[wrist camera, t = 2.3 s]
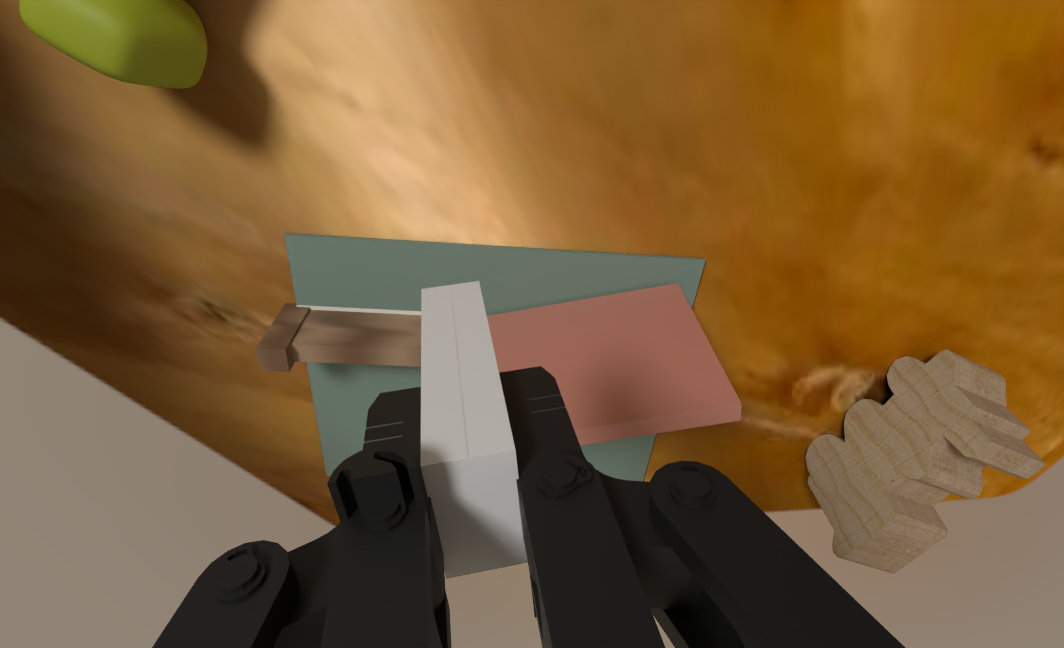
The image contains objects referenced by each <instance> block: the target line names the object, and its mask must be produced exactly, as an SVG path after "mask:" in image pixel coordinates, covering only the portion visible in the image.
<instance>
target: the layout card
mask: <svg viewBox="0 0 1064 648" xmlns="http://www.w3.org/2000/svg"><path fill="white" fill-rule="evenodd" d="M285 241H286V247H287V253H288V258H289V264H290V270H291V275H292V281H293V287H294V293H295V298H296V304H297V307H310V310H328V311H348V312H368V313H388V314H408V315H421V289H424V288H432V287H439V286H446V285H453V284H461V283H468V282H475V281H479V283H480V288H481V292H482V297H483V302H484V306H485V311H486V315H487V316H490V315H495V314H501V313H507V312H513V311H519V310H524V309H530V308H536V307H542V306H547V305H553V304H559V303H565V302H571V301H576V300H582V299H588V298H594V297H600V296H605V295H611V294H617V293H623V292H628V291H634V290H640V289H646V288H652V287H657V286H663V285H669V284H675V283H678V284H679V286H680V288H681V290H682V292H683V294H684V296H685V298H686V300H687V301H688V303H689V305H690V307H691V309H692V307H693V303H694V300H695V296H696V293H697V289H698V286H699V282H700V279H701V275H702V272H703V268H704V265H705V261H706V260H705V258H690V257H673V256H657V255H640V254H623V253H607V252H590V251H574V250H557V249H541V248H524V247H507V246H491V245H474V244H458V243H441V242H425V241H408V240H391V239H375V238H358V237H342V236H325V235H309V234H292V233H286V234H285ZM307 367H308V373H309V379H310V384H311V390H312V396H313V402H314V407H315V413H316V419H317V425H318V430H319V436H320V442H321V448H322V453H323V459H324V465H325V470H326V476H331V474H332V472H333V471H334V470H335V469H336V468H337V467H338V466H339V465H340V464H341V463H342V462H343V461H344V460H345V459H347V458H348V457H350V456H352V455H353V454H355V453H357V452H359V451H362V450H363V444H364V436H365V430H366V422H367V415H368V409H369V408H370V406H371V405H372V404H373V402H374V401H375V399H376V398H377V397H378V395H379V394H380V393H383V392H390V391H396V390H402V389H409V388H415V387H421V367H415V366H392V365H369V364H345V363H322V362H307ZM655 437H656V434H651V435H645V436H638V437H632V438H625V439H619V440H612V441H606V442H600V443H593V444H587V445H580V447H581V449H582V452H583V454H584V456H585V458H586V460H587V461H588V462H590V463H591V464H592V465H593V466H594V468H595V469H596V470H598V471H600V472H601V473H603V474H605V475H608V476H610V477H613V478H617V479H623V480H631V481H643V479H644V476H645V472H646V469H647V465H648V462H649V458H650V455H651V451H652V448H653V444H654V441H655Z"/></svg>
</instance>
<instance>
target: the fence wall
mask: <svg viewBox="0 0 1064 648" xmlns="http://www.w3.org/2000/svg"><path fill="white" fill-rule="evenodd" d="M256 350H257V354H258V358H259V363H260V367H261V371H280V372H290V370H291V368H292V366H293V364H294V362H295V361H299V362H322V363H345V364H369V365H392V366H415V367H421V315H408V314H388V313H368V312H348V311H328V310H310V307H297V304H285V305H284V307H283V308H282V310H281V311H280V313H279V314H278V316H277V317H276V319H275V320H274V322H273V324H272V325H271V327H270V328H269V330H268V331H267V333H266V334H265V336H264V337H263V339H262V340H261V342H260V344H259V345H258V347H257V348H256Z"/></svg>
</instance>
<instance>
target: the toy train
mask: <svg viewBox="0 0 1064 648" xmlns="http://www.w3.org/2000/svg"><path fill="white" fill-rule="evenodd" d="M887 380H888V385H889V387H890V389H891V390H892V392H893V394H894V395H893V396H892V397H891V398H890V399H889V400H888V401H887V402H886V403H885V404H881V403H879V402H876V401H874V400H871V399H861V400H859V401H858V402H856V403H855V404H854V405H853V406H851V407H850V408H849V409H848V411H847V413H846V415H845V420H844V433H845V439H843V438H840V437H837V436H835V435H829V434H824V435H821V436H818V437H817V438H816V439H815V440H814V441H813V442H812V443H811V444H810V446H809V448H808V450H807V454H806V464H807V469H808V471H809V473H810V476H809V477H808V485H809V487H810V488H811V490H812V492H813V494H814V495H815V497H816V499H817V501H818V502H819V504H820V506H821V508H822V509H823V511H824V513H825V515H826V516H827V518H828V520H829V522H830V523H831V525H832V527H833V529H834V537H833V544H832V546H833V553H834V554H835V555H836V556H837V557H839V558H843V559H846V560H849V561H853V562H856V563H860V564H863V565H866V566H870V567H873V568H876V569H880V570H883V571H886V572H890V573H895V572H897V571H898V570H899V569H901V568H903V567H904V566H905V565H907V564H908V563H910V562H911V561H912V560H914V559H915V558H917V557H918V556H920V555H921V554H922V553H924V552H925V551H927V550H928V549H929V548H931V547H932V546H934V545H935V544H936V543H938V542H939V541H941V540H942V539H943V538H945V537H946V536H947V532H948V529H947V528H946V527H945V525H944V524H943V522H942V520H941V519H940V517H939V515H938V514H937V512H936V511H935V509H934V506H935V505H936V504H938V503H939V502H940V501H942V500H943V499H944V498H946V497H947V496H948V495H949V494H954V495H957V496H960V497H963V498H969V499H973V498H975V497H977V496H978V495H979V493H980V492H981V490H982V488H983V486H982V471H981V470H982V469H983V468H984V467H985V466H986V465H988V466H990V467H993V468H995V469H998V470H1000V471H1003V472H1005V473H1008V474H1010V475H1013V476H1016V477H1018V478H1023V479H1029V478H1030V477H1031V476H1033V475H1034V474H1035V473H1036V472H1038V471H1039V470H1040V469H1041V468H1043V467H1044V466H1045V465H1046V464H1045V463H1044V462H1043V461H1042V460H1041V459H1040V458H1039V457H1038V456H1037V455H1036V454H1035V453H1034V452H1033V451H1032V450H1031V449H1030V448H1029V447H1028V446H1027V445H1026V444H1025V443H1024V442H1023V441H1022V440H1023V439H1024V438H1025V437H1026V436H1027V435H1028V434H1029V433H1030V430H1029V429H1028V428H1027V427H1026V426H1025V425H1024V424H1023V423H1022V422H1021V421H1020V420H1019V419H1018V418H1017V417H1016V416H1015V415H1013V414H1012V413H1011V412H1010V411H1009V410H1008V409H1007V408H1006V382H1005V380H1004V378H1003V376H1002V375H1000V374H999V373H997V372H995V371H992V370H990V369H988V368H986V367H984V366H982V365H979V364H977V363H975V362H973V361H971V360H969V359H966V358H964V357H962V356H960V355H958V354H956V353H953V352H951V351H949V350H942V351H941V352H939V353H938V354H937V355H936V356H934V357H933V358H932V359H931V360H930V361H928V362H927V363H924V362H922V361H920V360H918V359H915V358H912V357H909V356H905V357H902V358H900V359H897V360H895V362H894V363H893V364H892V365H891V366H890V368H889V371H888V373H887Z"/></svg>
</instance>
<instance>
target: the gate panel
mask: <svg viewBox="0 0 1064 648" xmlns="http://www.w3.org/2000/svg"><path fill="white" fill-rule="evenodd" d="M487 320H488V325H489V329H490V334H491V339H492V343H493V348H494V353H495V357H496V362H497V366H498V371H499V373H500V372H506V371H512V370H519V369H525V368H531V367H538V366H542V367H543V368H544V369H545V370H546V371H548V372H549V373H550V374H551V375H552V376H554V377H555V379H556V382H557V384H558V387H559V390H560V393H561V396H562V398H563V401H564V403H565V408H566V409H567V411H568V414H569V417H570V420H571V422H572V425H573V428H574V430H575V433H576V436H577V439H578V441H579V444H580V445H587V444H593V443H600V442H606V441H612V440H619V439H625V438H632V437H638V436H645V435H651V434H658V433H664V432H671V431H677V430H683V429H690V428H696V427H703V426H709V425H716V424H722V423H729V422H735V421H741V408H742V404H741V402H740V400H739V398H738V396H737V394H736V392H735V390H734V389H733V387H732V385H731V383H730V381H729V379H728V377H727V375H726V373H725V371H724V370H723V368H722V366H721V364H720V362H719V360H718V358H717V356H716V354H715V353H714V351H713V349H712V347H711V345H710V343H709V341H708V339H707V337H706V336H705V334H704V332H703V330H702V328H701V326H700V324H699V322H698V320H697V319H696V317H695V315H694V313H693V311H692V309H691V307H690V305H689V303H688V301H687V300H686V298H685V296H684V294H683V292H682V290H681V288H680V286H679V284H678V283H675V284H669V285H663V286H657V287H652V288H646V289H640V290H634V291H628V292H623V293H617V294H611V295H605V296H600V297H594V298H588V299H582V300H576V301H571V302H565V303H559V304H553V305H547V306H542V307H536V308H530V309H524V310H519V311H513V312H507V313H501V314H495V315H490V316H487Z"/></svg>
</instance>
